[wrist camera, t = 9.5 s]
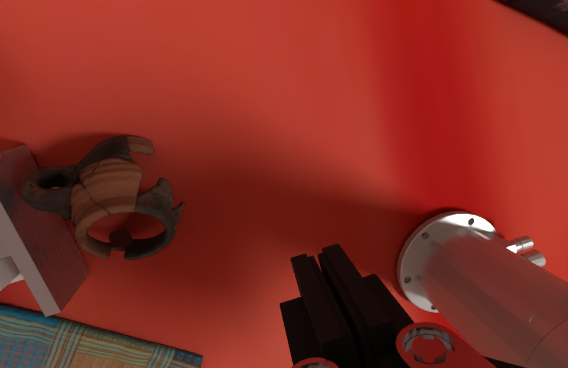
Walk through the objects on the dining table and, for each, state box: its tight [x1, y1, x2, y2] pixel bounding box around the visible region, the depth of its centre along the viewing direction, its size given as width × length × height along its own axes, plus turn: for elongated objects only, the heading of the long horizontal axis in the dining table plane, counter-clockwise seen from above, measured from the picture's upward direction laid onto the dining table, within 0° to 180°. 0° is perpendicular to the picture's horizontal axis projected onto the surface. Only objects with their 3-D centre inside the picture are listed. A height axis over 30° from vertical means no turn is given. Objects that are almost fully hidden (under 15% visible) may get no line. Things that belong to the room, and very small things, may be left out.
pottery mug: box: [20, 136, 184, 260], centre depth 29 cm, size 12×10×8 cm
